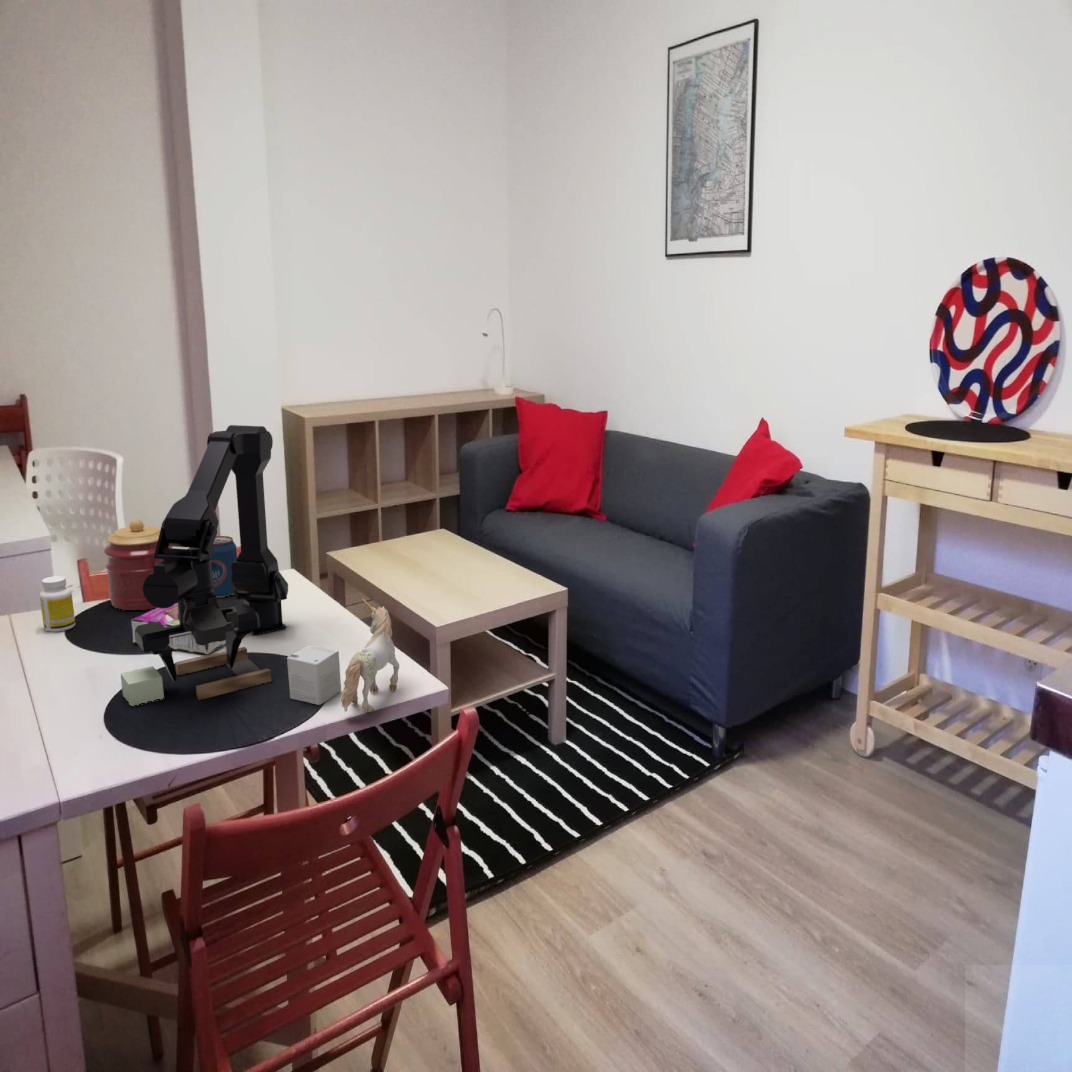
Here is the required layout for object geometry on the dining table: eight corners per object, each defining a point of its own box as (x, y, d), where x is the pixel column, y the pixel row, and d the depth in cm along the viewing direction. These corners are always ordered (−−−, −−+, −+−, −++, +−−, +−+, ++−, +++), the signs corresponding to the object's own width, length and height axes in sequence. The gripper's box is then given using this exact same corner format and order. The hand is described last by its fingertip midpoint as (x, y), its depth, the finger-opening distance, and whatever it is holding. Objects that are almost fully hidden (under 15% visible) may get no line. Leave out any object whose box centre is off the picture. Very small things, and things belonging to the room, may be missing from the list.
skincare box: (341, 691, 147) (340, 650, 145) (319, 706, 142) (316, 664, 140) (312, 684, 150) (309, 643, 148) (288, 698, 144) (285, 656, 142)
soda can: (199, 597, 189) (194, 543, 185) (216, 586, 195) (211, 534, 192) (230, 599, 188) (225, 545, 184) (245, 588, 194) (241, 536, 191)
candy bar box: (169, 599, 173) (243, 609, 169) (171, 623, 174) (244, 634, 170) (128, 618, 163) (206, 630, 158) (131, 643, 164) (208, 656, 160)
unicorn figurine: (405, 671, 155) (404, 599, 152) (386, 724, 137) (384, 643, 133) (364, 670, 155) (361, 598, 152) (340, 723, 137) (336, 642, 133)
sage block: (155, 688, 147) (152, 666, 146) (164, 699, 143) (161, 676, 142) (123, 696, 144) (120, 673, 143) (131, 707, 140) (128, 684, 139)
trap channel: (245, 657, 160) (244, 646, 159) (271, 681, 150) (270, 670, 150) (176, 673, 153) (175, 662, 152) (199, 699, 143) (198, 688, 143)
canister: (95, 606, 182) (85, 523, 177) (144, 587, 194) (135, 509, 189) (145, 616, 178) (135, 531, 173) (191, 596, 189) (184, 516, 184)
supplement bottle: (82, 624, 173) (76, 576, 170) (59, 634, 168) (52, 585, 165) (60, 620, 175) (54, 573, 172) (37, 630, 170) (30, 581, 167)
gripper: (147, 613, 133) (158, 707, 138) (268, 589, 144) (275, 677, 148) (129, 592, 142) (139, 681, 146) (244, 571, 153) (251, 655, 157)
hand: (203, 674), depth 149 cm, fingers open, 9 cm apart
